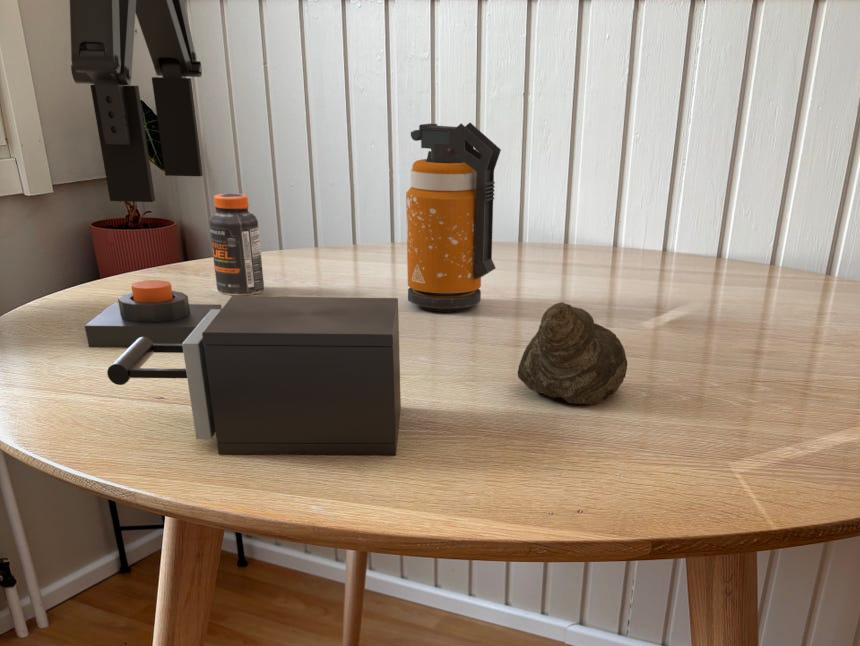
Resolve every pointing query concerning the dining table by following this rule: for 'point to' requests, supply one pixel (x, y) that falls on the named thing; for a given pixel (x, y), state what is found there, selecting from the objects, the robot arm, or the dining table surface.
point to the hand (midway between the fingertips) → (160, 187)
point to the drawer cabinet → (305, 375)
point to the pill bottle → (236, 246)
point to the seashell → (573, 357)
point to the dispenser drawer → (174, 372)
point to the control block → (146, 321)
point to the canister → (450, 217)
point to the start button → (152, 291)
